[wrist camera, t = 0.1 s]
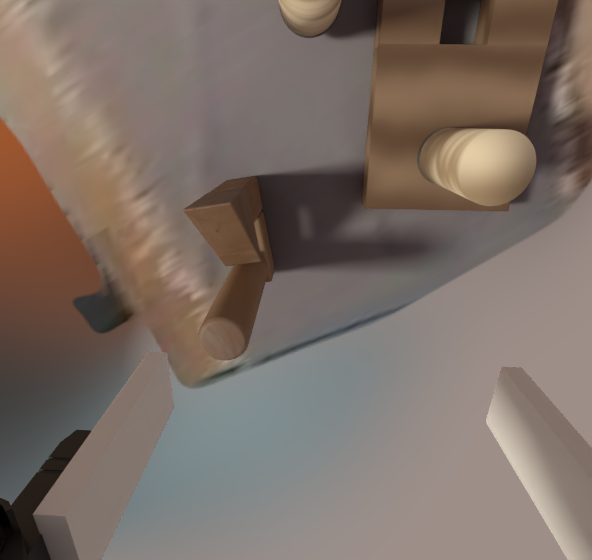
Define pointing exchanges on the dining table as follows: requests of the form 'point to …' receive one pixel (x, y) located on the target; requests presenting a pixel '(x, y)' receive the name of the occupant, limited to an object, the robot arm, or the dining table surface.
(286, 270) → the dining table surface
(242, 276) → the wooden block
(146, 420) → the robot arm
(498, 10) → the walnut board
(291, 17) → the beech peg
